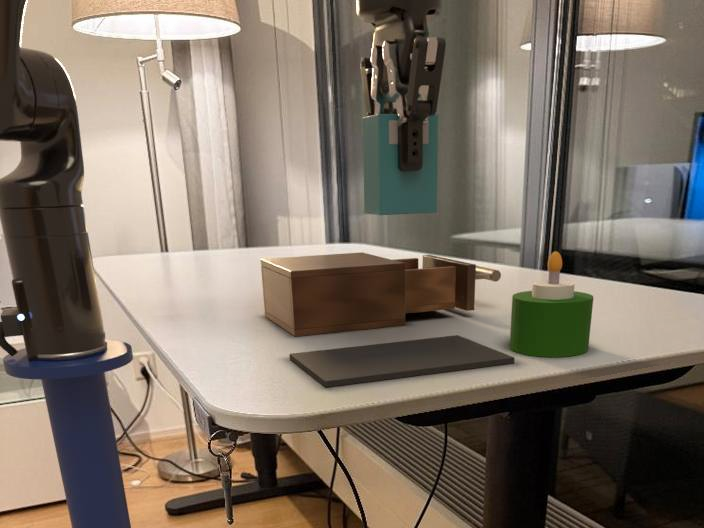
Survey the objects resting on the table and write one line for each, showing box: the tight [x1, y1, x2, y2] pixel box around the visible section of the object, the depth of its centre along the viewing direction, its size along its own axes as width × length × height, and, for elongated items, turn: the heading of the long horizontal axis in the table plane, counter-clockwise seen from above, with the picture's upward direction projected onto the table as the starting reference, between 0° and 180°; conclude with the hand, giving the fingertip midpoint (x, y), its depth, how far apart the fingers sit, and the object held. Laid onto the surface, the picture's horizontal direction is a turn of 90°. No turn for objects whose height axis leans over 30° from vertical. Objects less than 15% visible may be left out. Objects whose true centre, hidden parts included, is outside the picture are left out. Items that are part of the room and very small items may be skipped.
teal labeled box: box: [361, 113, 439, 216], centre depth 69 cm, size 6×4×8 cm
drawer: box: [393, 254, 502, 314], centre depth 98 cm, size 19×13×6 cm
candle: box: [509, 250, 594, 358], centre depth 76 cm, size 8×8×10 cm
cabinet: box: [260, 252, 406, 337], centre depth 94 cm, size 15×15×8 cm
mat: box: [289, 334, 515, 388], centre depth 74 cm, size 20×12×1 cm, turn 111°
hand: (399, 170), depth 69 cm, fingers closed on teal labeled box, 4 cm apart
